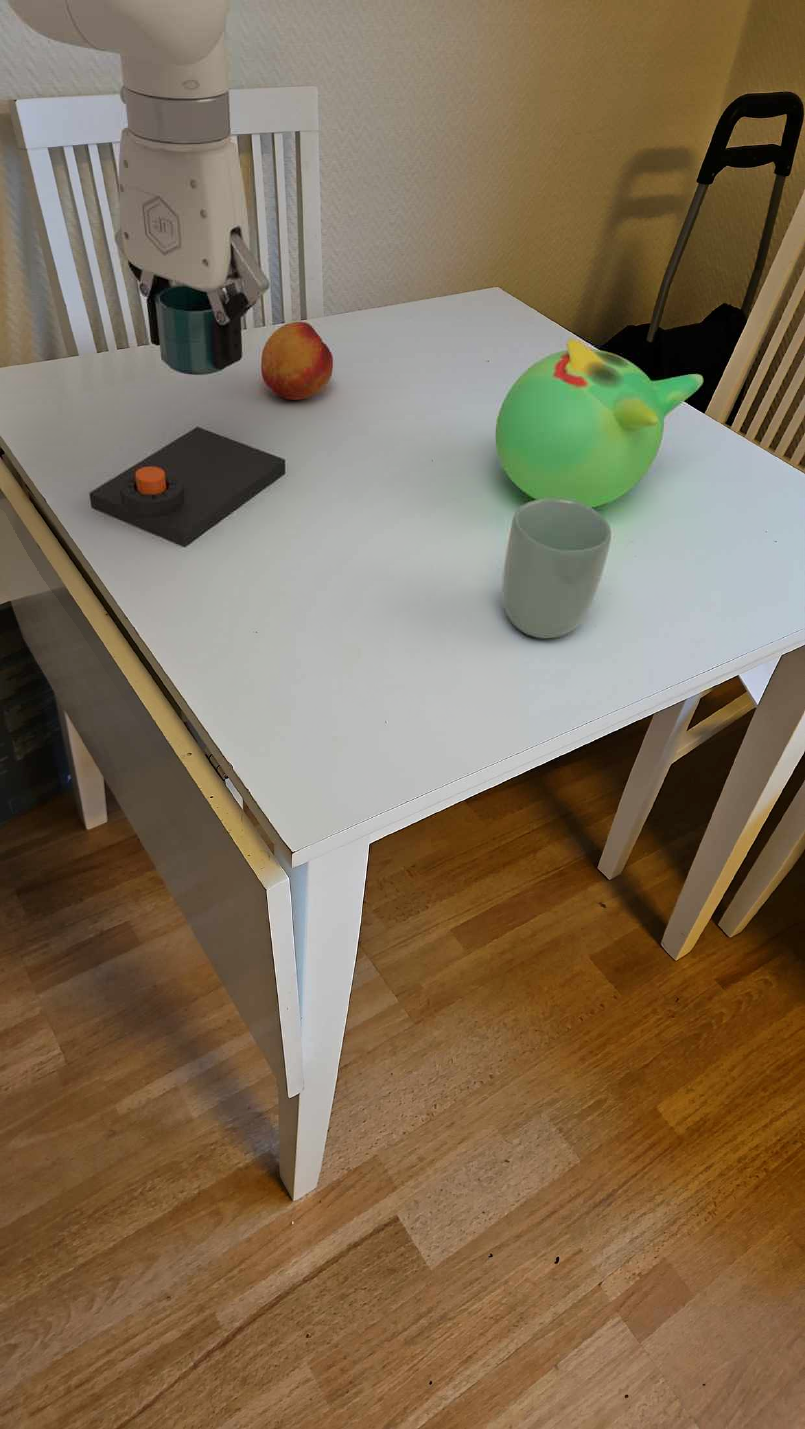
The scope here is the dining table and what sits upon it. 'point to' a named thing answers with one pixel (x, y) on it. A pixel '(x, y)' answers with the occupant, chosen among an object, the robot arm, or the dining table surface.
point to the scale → (190, 485)
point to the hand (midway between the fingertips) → (196, 350)
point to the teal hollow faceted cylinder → (185, 329)
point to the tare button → (150, 480)
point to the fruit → (296, 361)
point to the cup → (553, 565)
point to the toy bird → (585, 424)
